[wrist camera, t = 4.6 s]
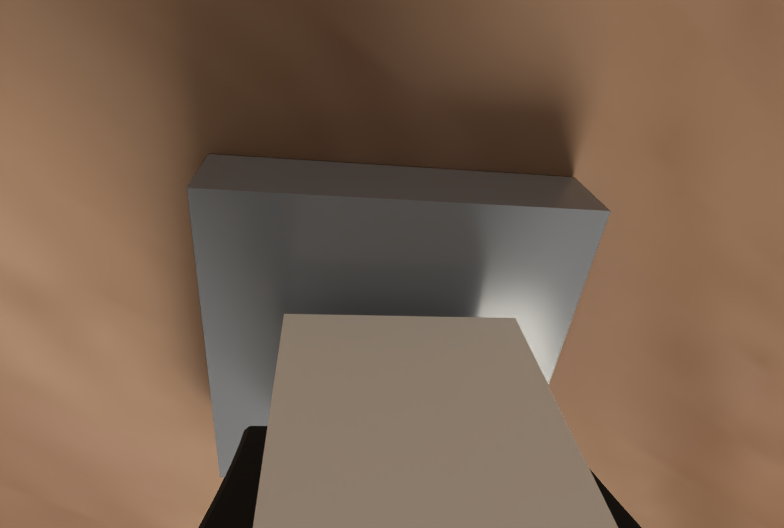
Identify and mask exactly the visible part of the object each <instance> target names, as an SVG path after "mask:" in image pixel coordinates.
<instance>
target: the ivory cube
mask: <svg viewBox="0 0 784 528" xmlns="http://www.w3.org/2000/svg"><path fill="white" fill-rule="evenodd" d="M253 528H618V526H617V524H616V522H615V520H614V518H613V516H612V514H611V512H610V510H609V508H608V506H607V504H606V502H605V500H604V498H603V496H602V494H601V492H600V489H599V487H598V485H597V483H596V481H595V479H594V477H593V475H592V473H591V471H590V469H589V467H588V465H587V463H586V461H585V459H584V457H583V455H582V453H581V451H580V449H579V447H578V445H577V443H576V441H575V438H574V436H573V434H572V432H571V430H570V428H569V426H568V424H567V422H566V420H565V418H564V416H563V414H562V412H561V410H560V408H559V406H558V404H557V402H556V400H555V398H554V396H553V394H552V392H551V390H550V388H549V385H548V383H547V381H546V379H545V377H544V375H543V373H542V371H541V369H540V367H539V365H538V363H537V361H536V359H535V357H534V355H533V353H532V351H531V349H530V347H529V345H528V343H527V341H526V339H525V337H524V334H523V332H522V330H521V328H520V326H519V324H518V322H517V320H516V318H485V317H431V316H377V315H323V314H284V317H283V324H282V331H281V337H280V344H279V351H278V358H277V365H276V372H275V378H274V385H273V392H272V399H271V406H270V413H269V420H268V426H267V433H266V440H265V447H264V454H263V461H262V468H261V474H260V481H259V488H258V495H257V502H256V509H255V516H254V522H253Z"/></svg>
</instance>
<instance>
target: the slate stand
mask: <svg viewBox="0 0 784 528" xmlns="http://www.w3.org/2000/svg"><path fill="white" fill-rule="evenodd" d="M187 194H188V203H189V212H190V220H191V229H192V238H193V246H194V255H195V264H196V272H197V281H198V290H199V298H200V307H201V316H202V324H203V333H204V342H205V350H206V359H207V368H208V376H209V385H210V394H211V402H212V411H213V420H214V428H215V437H216V446H217V454H218V463H219V472H220V477H225V476H226V473H227V471H228V469H229V467H230V465H231V462H232V460H233V458H234V456H235V453H236V451H237V448H238V446H239V443H240V441H241V438H242V435H243V432H244V430H245V429H246V428H248V427H249V426H268V420H269V413H270V406H271V399H272V392H273V385H274V378H275V372H276V365H277V358H278V351H279V344H280V337H281V331H282V324H283V317H284V314H323V315H377V316H431V317H485V318H516V320H517V322H518V324H519V326H520V328H521V330H522V332H523V334H524V337H525V339H526V341H527V343H528V345H529V347H530V349H531V351H532V353H533V355H534V357H535V359H536V361H537V363H538V365H539V367H540V369H541V371H542V373H543V375H544V377H545V379H546V381H547V383H548V385H549V382H550V380H551V377H552V374H553V371H554V368H555V366H556V363H557V360H558V357H559V354H560V351H561V349H562V346H563V343H564V340H565V337H566V335H567V332H568V329H569V326H570V323H571V321H572V318H573V315H574V312H575V309H576V307H577V304H578V301H579V298H580V295H581V293H582V290H583V287H584V284H585V281H586V279H587V276H588V273H589V270H590V267H591V264H592V262H593V259H594V256H595V253H596V250H597V248H598V245H599V242H600V239H601V236H602V234H603V231H604V228H605V225H606V222H607V220H608V217H609V214H610V210H609V209H608V208H607V207H606V206H605V205H604V204H602V203H601V202H600V201H599V200H598V199H597V198H596V197H595V196H594V195H593V194H592V193H591V192H590V191H588V190H587V189H586V188H585V187H584V186H583V185H582V184H581V183H580V182H579V181H578V180H577V179H576V178H575V177H562V176H547V175H531V174H515V173H499V172H484V171H468V170H452V169H436V168H421V167H405V166H389V165H373V164H358V163H342V162H326V161H310V160H295V159H279V158H263V157H247V156H232V155H216V154H208V155H207V157H206V158H205V160H204V162H203V163H202V165H201V166H200V168H199V169H198V171H197V173H196V174H195V176H194V177H193V179H192V181H191V182H190V184H189V185H188V187H187Z"/></svg>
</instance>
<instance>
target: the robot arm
mask: <svg viewBox="0 0 784 528" xmlns="http://www.w3.org/2000/svg"><path fill="white" fill-rule="evenodd" d="M266 433H267V426H249V427H248V428H246V429H245V430H244V432H243V435H242V438H241V441H240V443H239V446H238V448H237V451H236V453H235V456H234V458H233V460H232V462H231V465H230V467H229V469H228V471H227V473H226V476H225V478H224V480H223V482H222V484H221V486H220V488H219V490H218V492H217V494H216V496H215V498H214V500H213V502H212V503H211V505H210V507H209V509H208V511H207V513H206V515H205V517H204V518H203V520H202V522H201V524H200V526H199V528H253V522H254V516H255V509H256V502H257V495H258V488H259V481H260V474H261V468H262V461H263V454H264V447H265V440H266ZM590 471H591V470H590ZM591 473H592V475H593V477H594V479H595V481H596V483H597V485H598V487H599V489H600V492H601V494H602V496H603V498H604V500H605V502H606V504H607V506H608V508H609V510H610V512H611V514H612V516H613V518H614V520H615V522H616V524H617V526H618V528H641V527H640V525H639V524H638V523H637V522H636V521H635V520H634V519H633V518H632V517H631V515H630V514H629V513H628V512H627V511H626V510H625V509H624V508H623V507H622V505H621V504H620V503H619V502H618V501H617V500H616V499H615V498H614V496H613V495H612V494H611V493H610V492H609V491H608V490H607V488H606V487H605V486H604V485H603V484H602V483H601V481H600V480H599V479H598V478H597V477H596V476H595V474H594V473H593V472H592V471H591Z"/></svg>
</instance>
